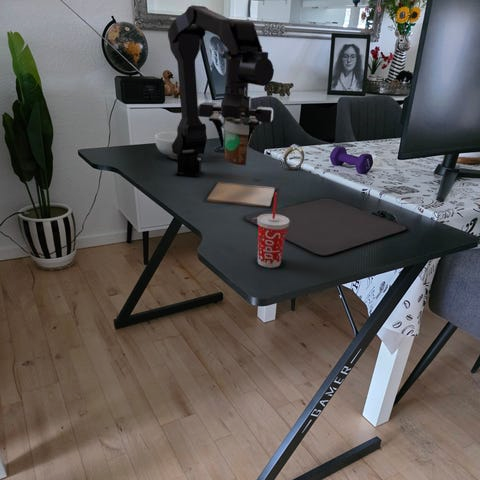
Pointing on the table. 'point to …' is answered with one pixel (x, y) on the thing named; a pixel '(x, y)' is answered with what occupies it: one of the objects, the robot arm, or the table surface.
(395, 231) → the mouse pad
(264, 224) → the beverage cup
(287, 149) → the ring
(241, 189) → the placemat
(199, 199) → the table surface
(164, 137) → the cereal bowl
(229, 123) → the food container
